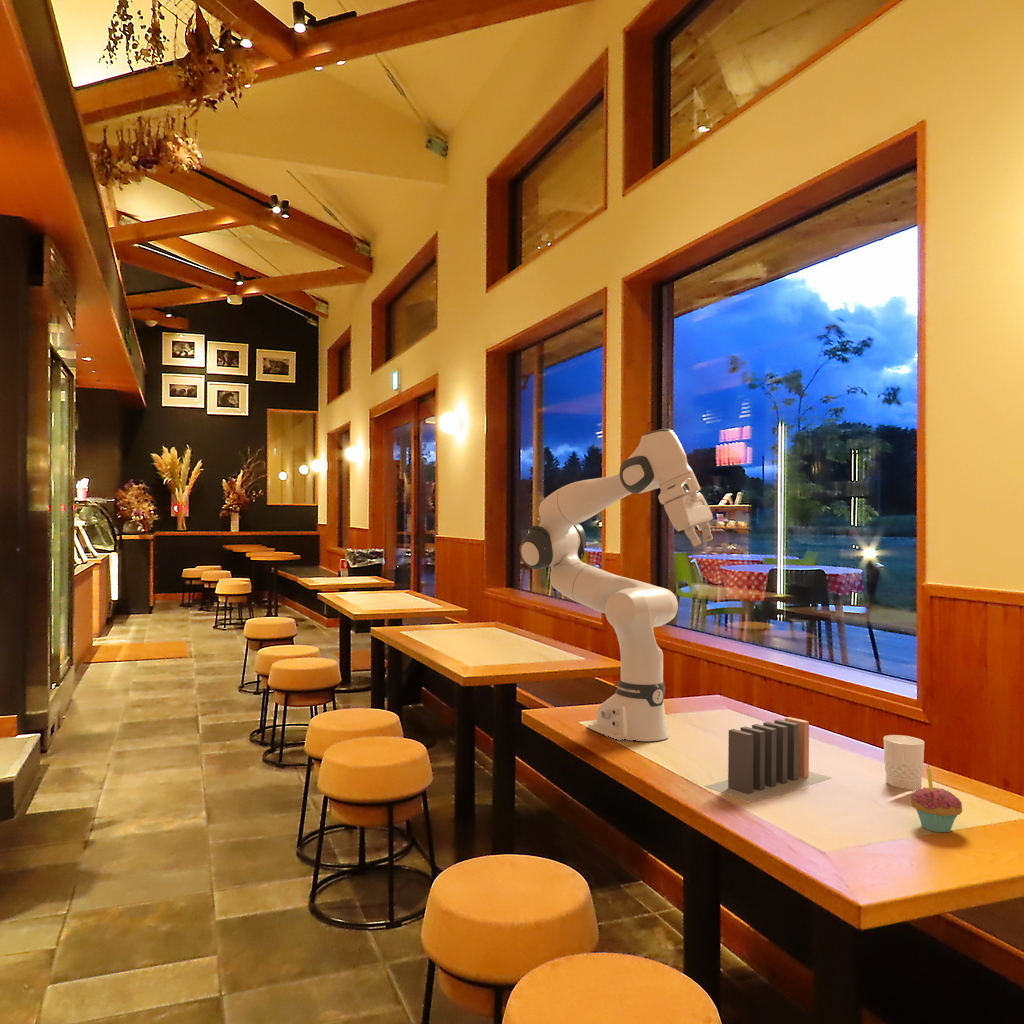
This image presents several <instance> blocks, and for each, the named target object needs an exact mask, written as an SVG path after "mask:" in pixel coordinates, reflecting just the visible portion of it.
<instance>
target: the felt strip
mask: <svg viewBox="0 0 1024 1024" xmlns="http://www.w3.org/2000/svg"><path fill="white" fill-rule="evenodd" d="M830 779H832V777H831V776H827V775H823V774H820V773H815V772H813V771H809V777H805V778H803V777H800V776H798V780H795V781H792V780H789V779H787V783H785V784H781V783H777V782H776V786H775V787H769V786H765V789H764V790H761V791H759V790H756V789H753V793H751V794H746V793H743V792H739V791H736V790H733V789H730V788H728V779H726V780H723V781H718V782H715V783H711V784H708V785H704V788H707V789H710V790H713V791H716V792H720V793H722V794H724V795H728V796H732V797H734V798H736V799H740V800H743V801H746V802H750V803H754V802H758V801H761V800H765V799H768V798H772V797H775V796H777V795H781V794H784V793H787V792H791V791H794V790H798V789H802V788H804V787H807V786H810V785H813V784H818V783H821V782H824V781H828V780H830Z"/></svg>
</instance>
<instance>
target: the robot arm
mask: <svg viewBox="0 0 1024 1024" xmlns="http://www.w3.org/2000/svg"><path fill="white" fill-rule="evenodd" d="M657 489H660V493H659V494H658V496H657V497H658V501H659V503H660V505H663V507H664V510H665V512H666V514H667V517H668V518H669V521H670V523H671V525H672V527H674V529H675V530H676V531H677V532H680V531H684V533H685V535H686V536H687V538H688V539H689V541H690V542H691V545H692V547H697V546H699V545H702V541H701V538H700V536H698V534H697V532H696V528H695V527H696V526H699V528H700V530H701V532H702V537H703V538H702V539H703V540H704V542H709V541H712V540H713V539H714V537H713V534H712V533H711V532H712V531H711V525H710V523H709V521H712V520H713V519H714V517H713V513H712V511H711V509H710V506H709V504H708V502H707V501H706V499H705V497H704V494H702V493H701V492H699V491H701V489H702V488H701V486H700V484H699V482H698V479H697V477H696V474H695V473H694V471H693V469H692V468H691V466H690V465H689V463H688V458H687V453H686V452H685V450H684V447H683V445H682V443H681V441H680V440H679V438H678V436H677V435H676V433H675V432H674V431H673V430H672V429H671V428H667V427H665V428H664V427H663V428H661V429H656V430H652V431H648V432H646V433H644V434H643V435H642V436H641V437H640V441H639V443H638V446H637V447H636V448H635V450H634V451H633V452H632V453H631V454H630V456H628V458H627V459H625V460H624V461H623V462H622V463H621V464H620V468H619V473H618V474H615V475H610V476H605V477H597V478H589V479H583V480H579V481H574V482H571V483H569V484H566V485H564V486H561V487H560V488H558V489H556V490H555V491H553V492H551V493H550V494H549V495H547V496H546V497H544V499H543V500H542V501H541V503H540V504H539V507H538V516H539V519H540V523H539V524H538V525H533V526H531V527H530V529H529V531H528V533H527V534H526V535H525V536H524V537H523V538H522V540H521V542H520V545H519V553H520V558H521V560H522V561H523V563H524V565H526V566H527V567H528V568H529V569H532V570H541V569H542V570H543V569H546V568H549V567H550V575H549V580H550V584H551V586H552V588H554V589H555V590H556V591H557V592H558V593H560V594H561V595H563V596H565V597H566V598H568V599H570V600H572V601H573V602H576V603H578V604H580V605H582V606H584V607H587V608H590V609H592V610H594V611H595V612H596V611H597V612H599V613H602V614H605V617H606V620H607V621H608V623H609V624H610V626H612V628H613V630H614V632H615V634H616V637H617V641H618V645H619V654H620V679H619V680H618V681H613V682H612V683H613V685H612V686H613V687H616V690H615V693H614V694H613V695H611V696H610V697H608V698H607V699H606V700H605V701H603V702H601V703H600V705H599V706H598V708H597V712H596V713H597V715H596V720H594V721H591V722H589V723H587V728H588V729H590V730H592V731H595V732H597V733H598V734H601V735H603V734H604V735H603V736H606V737H608V736H609V737H608V738H610V737H611V739H612V738H614V739H613V740H615V739H617V740H616V741H633V740H636V741H635V742H656V741H663V740H665V739H669V737H670V734H669V732H668V731H669V730H668V726H667V719H666V712H665V710H666V709H665V703H664V698H665V694H666V693H665V692H666V691H665V690H666V686H665V681H664V653H663V650H662V649H661V648H660V647H659V645H658V644H657V641H656V637H655V632H654V628H657V627H662V626H664V625H665V624H668V623H669V622H671V621H672V620H673V619H674V618H675V617H676V615H677V614H678V610H679V602H678V599H677V597H676V595H675V594H674V592H672V591H671V590H670V589H668V588H664V587H661V586H657V585H654V584H652V583H648V582H644V581H640V580H637V579H632V578H629V577H624V576H622V575H618V574H614V573H612V572H609V571H607V570H604V569H602V568H599V567H596V566H594V565H591V564H588V563H585V562H583V561H582V559H583V557H584V556H585V554H586V552H585V551H586V550H585V548H586V546H587V544H586V543H587V537H586V532H585V529H584V528H583V526H582V525H581V523H583V522H585V521H587V520H589V519H591V518H593V517H594V516H596V515H597V514H599V513H601V512H602V511H604V510H605V509H607V508H609V507H610V506H612V505H613V504H615V503H617V502H619V501H620V500H621V499H623V498H625V497H628V496H631V495H632V494H643V493H647V492H651V491H654V490H657ZM622 739H623V740H622ZM624 739H626V740H624Z"/></svg>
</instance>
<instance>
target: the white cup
mask: <svg viewBox="0 0 1024 1024" xmlns="http://www.w3.org/2000/svg"><path fill="white" fill-rule="evenodd" d="M883 755H884V756H883V757H884V770H885V782H886V783H887V784H888V785H889V786H892V787H896V788H899V789H907V790H908V792H916V791H915V790H919V789H922V783H923V782H922V780H923V778H922V777H923V774H924V773H923V772H924V771H923V770H924V761H925V760H924V757H925V741H924V740H923V739H920V738H917V737H915V736H914V737H913V736H909V735H902V734H899V735H898V734H888V735H884V736H883ZM909 789H910V790H909Z"/></svg>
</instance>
